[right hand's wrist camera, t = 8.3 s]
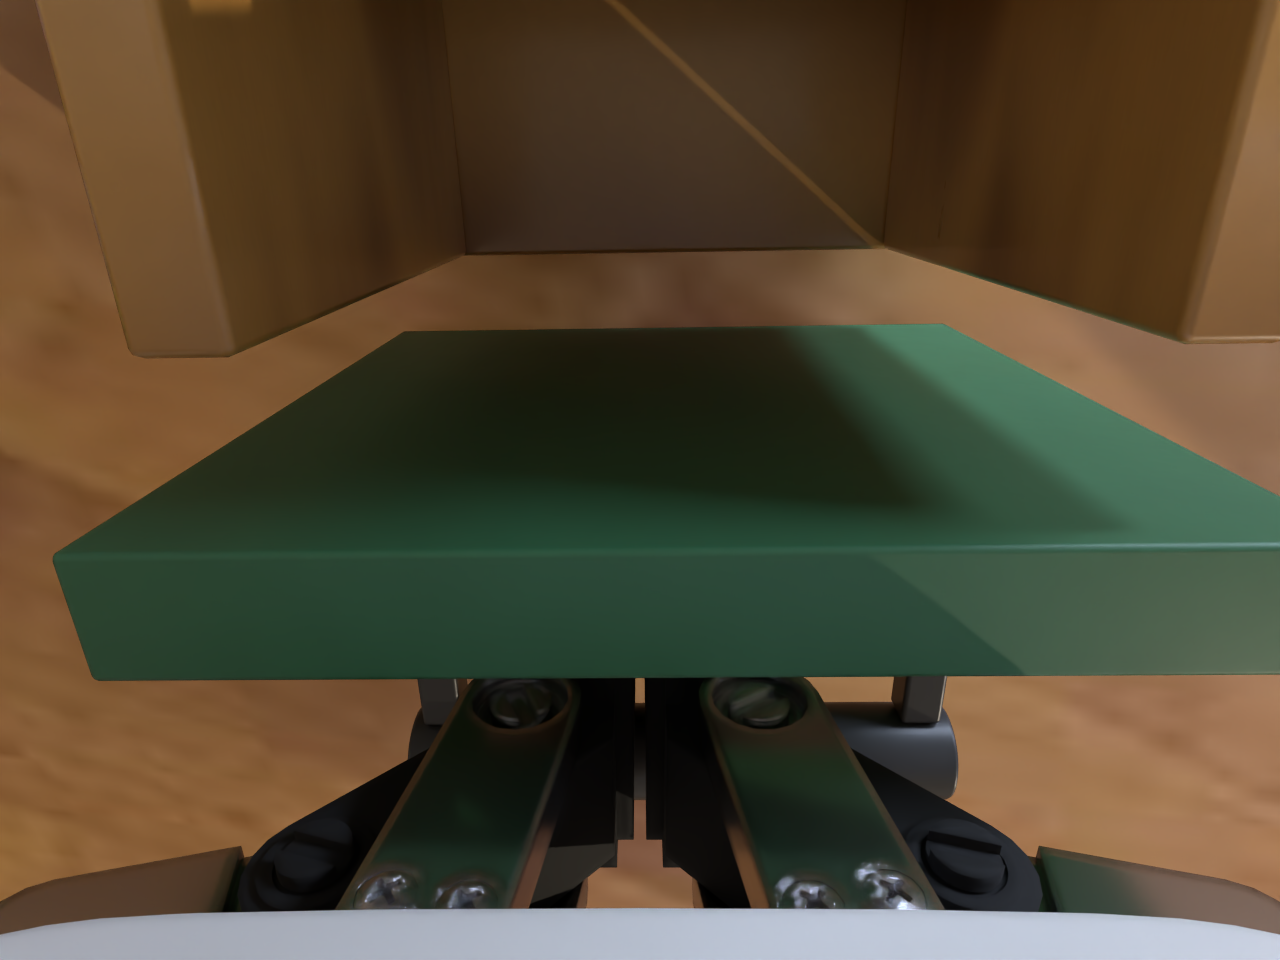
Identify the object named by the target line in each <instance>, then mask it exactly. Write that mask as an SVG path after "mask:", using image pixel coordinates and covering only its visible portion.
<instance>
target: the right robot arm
mask: <svg viewBox="0 0 1280 960" xmlns="http://www.w3.org/2000/svg"><path fill="white" fill-rule="evenodd" d="M634 749H635V678H521V679H473V680H472V681H471V682H470V683H469V684H468V686H467V687H466V688H465V689H464V690H463V691H462V693H461V695H460V696H459V698H458V700H457V702H456V703H455V705H454V707H453V708H452V710H451V712H450V714H449V715H448V717H447V719H446V720H445V722H444V724H443V726H442V727H441V729H440V731H439V732H438V734H437V736H436V738H435V739H434V741H433V743H432V744H431V746H430V748H428V749H426V750H425V751H423V752H421V753H419V754H417V755H416V756H414V757H412V758H410V759H408V760H407V761H405V762H403V763H401V764H399V765H398V766H396V767H394V768H392V769H390V770H388V771H387V772H385V773H383V774H381V775H379V776H378V777H376V778H374V779H372V780H370V781H369V782H367V783H365V784H363V785H361V786H360V787H358V788H356V789H354V790H352V791H351V792H349V793H347V794H345V795H343V796H342V797H340V798H338V799H336V800H334V801H333V802H331V803H329V804H327V805H325V806H324V807H322V808H320V809H318V810H316V811H315V812H313V813H311V814H309V815H307V816H305V817H304V818H302V819H300V820H298V821H296V822H295V823H293V824H291V825H289V826H288V827H286V828H285V829H283V830H282V831H280V832H279V833H277V834H276V835H275V836H273V837H272V838H270V839H269V840H268V841H267V842H266V843H265V844H264V845H263V846H262V847H261V848H260V849H259V850H258V851H257V852H256V853H255V854H254V855H253V856H250V857H244V855H243V851H242V847H241V846H237V847H232V848H226V849H221V850H215V851H210V852H204V853H199V854H193V855H188V856H182V857H177V858H171V859H165V860H160V861H154V862H149V863H143V864H138V865H132V866H127V867H121V868H116V869H110V870H105V871H99V872H93V873H88V874H82V875H77V876H71V877H66V878H60V879H55V880H51V881H48V882H45V883H41V884H38V885H35V886H31V887H28V888H25V889H24V890H22V891H20V892H18V893H16V894H14V895H12V896H10V897H8V898H6V899H4V900H3V901H1V902H0V960H1280V902H1279V901H1277V900H1276V899H1274V898H1272V897H1270V896H1268V895H1266V894H1264V893H1262V892H1260V891H1258V890H1256V889H1255V888H1252V887H1249V886H1245V885H1242V884H1239V883H1235V882H1232V881H1229V880H1225V879H1220V878H1214V877H1209V876H1203V875H1198V874H1192V873H1187V872H1181V871H1175V870H1170V869H1164V868H1159V867H1153V866H1148V865H1142V864H1137V863H1131V862H1126V861H1120V860H1115V859H1109V858H1103V857H1098V856H1092V855H1087V854H1081V853H1076V852H1070V851H1065V850H1059V849H1054V848H1048V847H1043V846H1039V847H1038V851H1037V855H1036V857H1030V856H1027V855H1026V854H1025V853H1024V852H1023V851H1022V850H1021V849H1020V848H1019V847H1018V846H1017V845H1016V844H1015V843H1014V842H1013V841H1012V840H1011V839H1010V838H1008V837H1007V836H1005V835H1004V834H1003V833H1001V832H1000V831H998V830H997V829H995V828H994V827H992V826H991V825H989V824H987V823H985V822H984V821H982V820H980V819H978V818H976V817H975V816H973V815H971V814H969V813H967V812H965V811H964V810H962V809H960V808H958V807H956V806H955V805H953V804H951V803H949V802H947V801H946V800H944V799H942V798H940V797H938V796H937V795H935V794H933V793H931V792H929V791H928V790H926V789H924V788H922V787H920V786H919V785H917V784H915V783H913V782H911V781H910V780H908V779H906V778H904V777H902V776H901V775H899V774H897V773H895V772H893V771H892V770H890V769H888V768H886V767H884V766H882V765H881V764H879V763H877V762H875V761H873V760H872V759H870V758H868V757H866V756H864V755H863V754H861V753H859V752H857V751H855V750H854V749H852V748H850V746H849V744H848V743H847V741H846V739H845V738H844V736H843V734H842V732H841V731H840V729H839V727H838V726H837V724H836V722H835V720H834V719H833V717H832V715H831V714H830V712H829V710H828V708H827V707H826V705H825V703H824V702H823V700H822V698H821V696H820V695H819V693H818V691H817V690H816V689H815V688H814V687H813V686H812V684H811V683H810V682H809V681H808V680H807V679H805V678H804V677H711V678H645V753H646V840H662V848H663V867H680V868H682V869H683V870H684V871H685V872H687V873H688V874H689V875H690V876H692V896H693V905H694V908H586V905H587V896H588V876H590V875H591V874H592V873H593V872H595V871H596V870H597V869H598V868H600V867H617V848H618V840H634Z"/></svg>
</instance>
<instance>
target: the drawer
mask: <svg viewBox="0 0 1280 960" xmlns="http://www.w3.org/2000/svg"><path fill="white" fill-rule="evenodd" d="M35 3H36V7H37V11H38V15H39V18H40V22H41V26H42V29H43V33H44V37H45V41H46V44H47V48H48V52H49V55H50V59H51V63H52V67H53V70H54V74H55V78H56V81H57V85H58V89H59V93H60V96H61V100H62V104H63V107H64V111H65V115H66V119H67V122H68V126H69V130H70V133H71V137H72V141H73V145H74V148H75V152H76V156H77V159H78V163H79V167H80V171H81V174H82V178H83V182H84V186H85V189H86V193H87V197H88V200H89V204H90V208H91V212H92V215H93V219H94V223H95V226H96V230H97V234H98V238H99V241H100V245H101V249H102V252H103V256H104V260H105V264H106V267H107V271H108V275H109V278H110V282H111V286H112V290H113V293H114V297H115V301H116V304H117V308H118V312H119V316H120V319H121V323H122V327H123V330H124V334H125V338H126V342H127V345H128V349H129V350H130V352H131V353H132V355H135V356H138V357H142V358H212V357H230V356H232V355H235V354H237V353H239V352H242V351H244V350H246V349H248V348H251V347H253V346H255V345H258V344H260V343H262V342H265V341H267V340H269V339H272V338H274V337H276V336H279V335H281V334H283V333H285V332H288V331H290V330H292V329H295V328H297V327H299V326H302V325H304V324H306V323H309V322H311V321H313V320H316V319H318V318H320V317H322V316H325V315H327V314H329V313H332V312H334V311H336V310H339V309H341V308H343V307H346V306H348V305H350V304H353V303H355V302H357V301H359V300H362V299H364V298H366V297H369V296H371V295H373V294H376V293H378V292H380V291H383V290H385V289H387V288H390V287H392V286H394V285H396V284H399V283H401V282H403V281H406V280H408V279H410V278H413V277H415V276H417V275H420V274H422V273H424V272H427V271H429V270H431V269H433V268H436V267H438V266H440V265H443V264H445V263H447V262H450V261H452V260H454V259H457V258H459V257H461V256H468V255H529V254H590V253H651V252H712V251H773V250H834V249H888V250H892V251H895V252H898V253H901V254H904V255H907V256H910V257H914V258H917V259H920V260H923V261H926V262H929V263H932V264H935V265H939V266H942V267H945V268H948V269H951V270H954V271H957V272H961V273H964V274H967V275H970V276H973V277H976V278H979V279H982V280H986V281H989V282H992V283H995V284H998V285H1001V286H1004V287H1007V288H1011V289H1014V290H1017V291H1020V292H1023V293H1026V294H1029V295H1033V296H1036V297H1039V298H1042V299H1045V300H1048V301H1051V302H1054V303H1058V304H1061V305H1064V306H1067V307H1070V308H1073V309H1076V310H1080V311H1083V312H1086V313H1089V314H1092V315H1095V316H1098V317H1101V318H1105V319H1108V320H1111V321H1114V322H1117V323H1120V324H1123V325H1127V326H1130V327H1133V328H1136V329H1139V330H1142V331H1145V332H1148V333H1152V334H1155V335H1158V336H1161V337H1164V338H1167V339H1170V340H1173V341H1177V342H1180V343H1183V344H1225V343H1273V342H1277V341H1280V0H35ZM53 564H54V567H55V570H56V573H57V576H58V578H59V581H60V584H61V587H62V590H63V593H64V596H65V599H66V602H67V605H68V608H69V611H70V614H71V616H72V619H73V622H74V625H75V628H76V631H77V634H78V637H79V640H80V643H81V646H82V649H83V652H84V654H85V657H86V660H87V663H88V666H89V669H90V672H91V675H92V677H93V678H94V679H95V680H98V681H143V680H332V679H418V686H419V693H420V699H421V706H422V707H421V709H420V710H419V712H418V714H417V716H416V718H415V721H414V724H413V728H412V732H411V736H410V742H409V750H408V759H410V758H412V757H414V756H416V755H417V754H419V753H421V752H423V751H425V750H426V749H428V748H430V746H431V744H432V743H433V741H434V739H435V738H436V736H437V734H438V732H439V731H440V729H441V727H442V726H443V724H444V722H445V720H446V719H447V717H448V715H449V714H450V712H451V710H452V708H453V707H454V705H455V703H456V702H457V700H458V698H459V696H460V695H461V693H462V691H463V690H464V689H465V688H466V687H467V686H468V685H467V679H521V678H711V677H894V682H893V689H892V697H891V700H892V702H824V703H825V705H826V707H827V708H828V710H829V712H830V714H831V715H832V717H833V719H834V720H835V722H836V724H837V726H838V727H839V729H840V731H841V732H842V734H843V736H844V738H845V739H846V741H847V743H848V744H849V746H850V748H852V749H854V750H855V751H857V752H859V753H861V754H863V755H864V756H866V757H868V758H870V759H872V760H873V761H875V762H877V763H879V764H881V765H882V766H884V767H886V768H888V769H890V770H892V771H893V772H895V773H897V774H899V775H901V776H902V777H904V778H906V779H908V780H910V781H911V782H913V783H915V784H917V785H919V786H920V787H922V788H924V789H926V790H928V791H929V792H931V793H933V794H935V795H937V796H938V797H940V798H942V799H948V798H950V797H951V796H952V795H953V794H954V792H955V789H956V785H957V779H958V753H957V746H956V740H955V736H954V732H953V728H952V725H951V723H950V720H949V718H948V715H947V713H946V712H945V710H944V709H943V707H942V705H943V698H944V692H945V686H946V680H947V676H1089V675H1278V674H1280V497H1279V496H1278V495H1276V494H1274V493H1272V492H1270V491H1268V490H1266V489H1264V488H1262V487H1260V486H1258V485H1256V484H1254V483H1252V482H1250V481H1248V480H1246V479H1244V478H1242V477H1241V476H1239V475H1237V474H1235V473H1233V472H1231V471H1229V470H1227V469H1225V468H1223V467H1221V466H1219V465H1217V464H1215V463H1213V462H1211V461H1209V460H1207V459H1206V458H1204V457H1202V456H1200V455H1198V454H1196V453H1194V452H1192V451H1190V450H1188V449H1186V448H1184V447H1182V446H1180V445H1178V444H1176V443H1174V442H1172V441H1171V440H1169V439H1167V438H1165V437H1163V436H1161V435H1159V434H1157V433H1155V432H1153V431H1151V430H1149V429H1147V428H1145V427H1143V426H1141V425H1139V424H1137V423H1135V422H1134V421H1132V420H1130V419H1128V418H1126V417H1124V416H1122V415H1120V414H1118V413H1116V412H1114V411H1112V410H1110V409H1108V408H1106V407H1104V406H1102V405H1100V404H1099V403H1097V402H1095V401H1093V400H1091V399H1089V398H1087V397H1085V396H1083V395H1081V394H1079V393H1077V392H1075V391H1073V390H1071V389H1069V388H1067V387H1065V386H1063V385H1062V384H1060V383H1058V382H1056V381H1054V380H1052V379H1050V378H1048V377H1046V376H1044V375H1042V374H1040V373H1038V372H1036V371H1034V370H1032V369H1030V368H1028V367H1027V366H1025V365H1023V364H1021V363H1019V362H1017V361H1015V360H1013V359H1011V358H1009V357H1007V356H1005V355H1003V354H1001V353H999V352H997V351H995V350H993V349H992V348H990V347H988V346H986V345H984V344H982V343H980V342H978V341H976V340H974V339H972V338H970V337H968V336H966V335H964V334H962V333H960V332H958V331H956V330H955V329H953V328H951V327H949V326H947V325H945V324H894V325H825V326H755V327H686V328H617V329H547V330H478V331H409V332H403V333H401V334H399V335H398V336H396V337H395V338H393V339H392V340H390V341H388V342H387V343H385V344H384V345H382V346H381V347H379V348H377V349H376V350H374V351H373V352H371V353H370V354H368V355H366V356H365V357H363V358H362V359H360V360H359V361H357V362H355V363H354V364H352V365H351V366H349V367H348V368H346V369H344V370H343V371H341V372H340V373H338V374H337V375H335V376H333V377H332V378H330V379H329V380H327V381H326V382H324V383H322V384H321V385H319V386H318V387H316V388H315V389H313V390H311V391H310V392H308V393H307V394H305V395H304V396H302V397H300V398H299V399H297V400H296V401H294V402H292V403H291V404H289V405H288V406H286V407H285V408H283V409H281V410H280V411H278V412H277V413H275V414H274V415H272V416H270V417H269V418H267V419H266V420H264V421H263V422H261V423H259V424H258V425H256V426H255V427H253V428H252V429H250V430H248V431H247V432H245V433H244V434H242V435H241V436H239V437H237V438H236V439H234V440H233V441H231V442H230V443H228V444H226V445H225V446H223V447H222V448H220V449H219V450H217V451H215V452H214V453H212V454H211V455H209V456H208V457H206V458H204V459H203V460H201V461H200V462H198V463H197V464H195V465H193V466H192V467H190V468H189V469H187V470H186V471H184V472H182V473H181V474H179V475H178V476H176V477H175V478H173V479H171V480H170V481H168V482H167V483H165V484H163V485H162V486H160V487H159V488H157V489H156V490H154V491H152V492H151V493H149V494H148V495H146V496H145V497H143V498H141V499H140V500H138V501H137V502H135V503H134V504H132V505H130V506H129V507H127V508H126V509H124V510H123V511H121V512H119V513H118V514H116V515H115V516H113V517H112V518H110V519H108V520H107V521H105V522H104V523H102V524H101V525H99V526H97V527H96V528H94V529H93V530H91V531H90V532H88V533H86V534H85V535H83V536H82V537H80V538H79V539H77V540H75V541H74V542H72V543H71V544H69V545H68V546H66V547H64V548H63V549H61V550H60V551H58V552H57V553H55V554H54V556H53ZM634 800H646V753H645V703H635V749H634Z"/></svg>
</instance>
